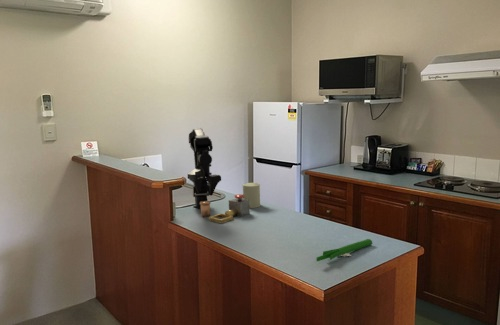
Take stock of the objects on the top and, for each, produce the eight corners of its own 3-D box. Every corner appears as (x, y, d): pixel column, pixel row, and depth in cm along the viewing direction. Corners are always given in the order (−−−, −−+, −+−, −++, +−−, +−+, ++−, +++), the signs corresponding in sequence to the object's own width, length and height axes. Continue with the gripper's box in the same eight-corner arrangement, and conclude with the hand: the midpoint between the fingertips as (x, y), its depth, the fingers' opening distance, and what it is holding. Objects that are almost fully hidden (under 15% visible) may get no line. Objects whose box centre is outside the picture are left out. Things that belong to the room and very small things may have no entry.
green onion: (364, 245, 156) (311, 263, 137) (364, 237, 155) (311, 253, 136) (375, 249, 152) (322, 267, 133) (376, 240, 152) (323, 258, 133)
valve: (221, 216, 198) (220, 198, 197) (238, 211, 207) (238, 193, 205) (233, 219, 193) (232, 200, 191) (250, 213, 201) (249, 195, 200)
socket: (209, 220, 192) (208, 217, 192) (221, 216, 198) (221, 213, 198) (220, 223, 187) (220, 220, 186) (233, 219, 192) (233, 216, 192)
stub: (198, 216, 200) (197, 202, 198) (206, 213, 203) (205, 200, 202) (205, 218, 196) (204, 204, 195) (213, 215, 200) (212, 201, 199)
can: (260, 207, 212) (259, 185, 210) (242, 208, 212) (242, 185, 210) (260, 203, 221) (259, 181, 219) (243, 203, 221) (242, 182, 219)
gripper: (177, 163, 196) (179, 194, 199) (203, 166, 184) (205, 200, 186) (195, 160, 204) (197, 190, 207) (221, 163, 192) (222, 195, 194)
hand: (204, 194), depth 198 cm, fingers open, 9 cm apart
